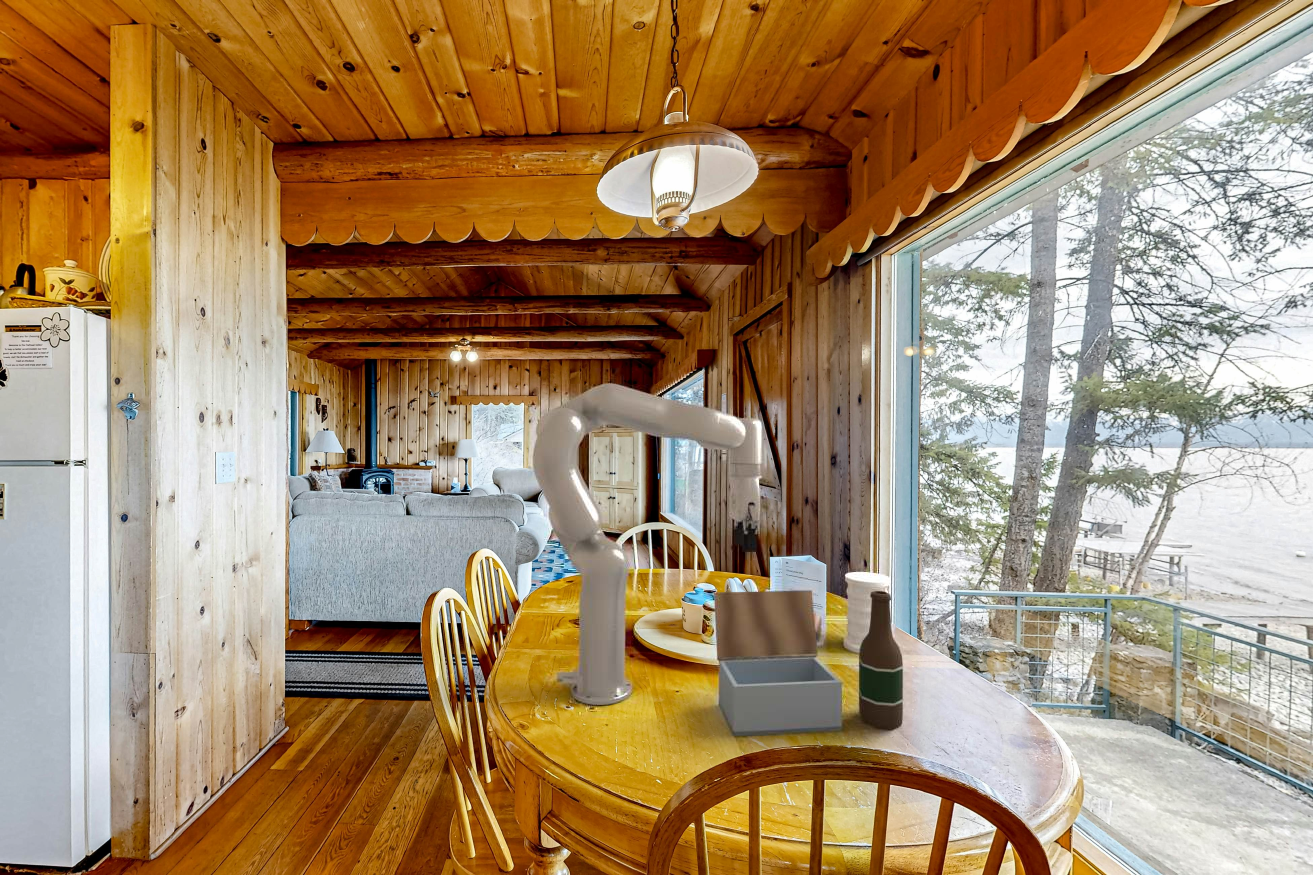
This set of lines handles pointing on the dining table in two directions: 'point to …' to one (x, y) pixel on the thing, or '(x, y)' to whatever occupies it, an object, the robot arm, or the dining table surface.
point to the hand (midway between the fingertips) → (745, 547)
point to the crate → (779, 696)
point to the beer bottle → (880, 669)
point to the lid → (765, 625)
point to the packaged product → (819, 631)
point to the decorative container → (861, 605)
